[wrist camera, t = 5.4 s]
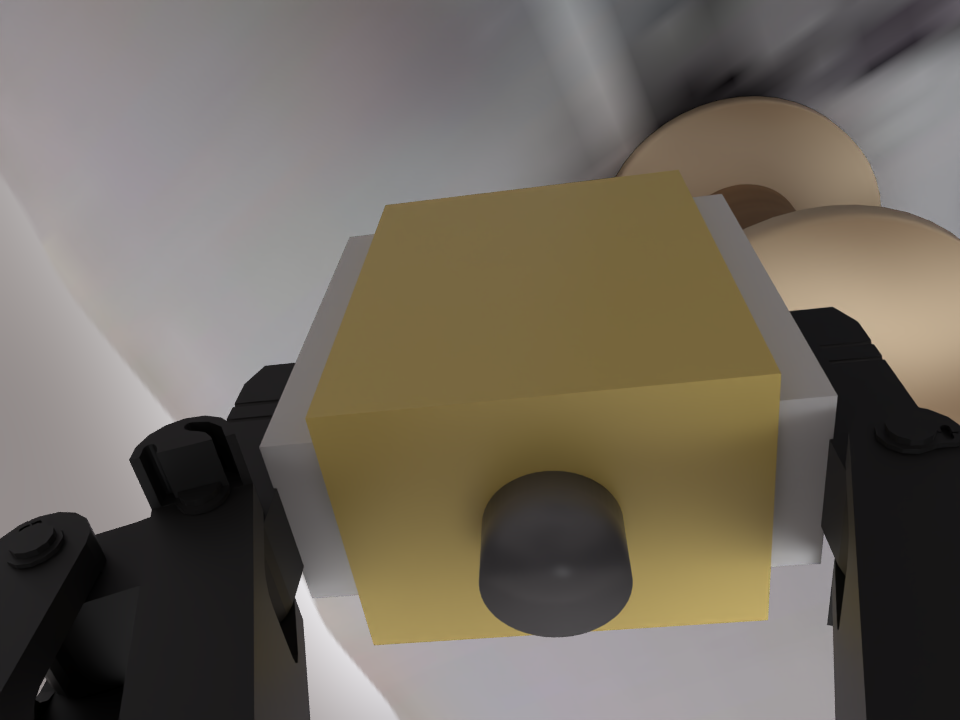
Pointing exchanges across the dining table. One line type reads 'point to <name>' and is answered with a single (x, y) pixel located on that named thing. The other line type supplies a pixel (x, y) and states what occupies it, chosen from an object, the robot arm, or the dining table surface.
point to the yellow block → (550, 418)
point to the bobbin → (825, 230)
